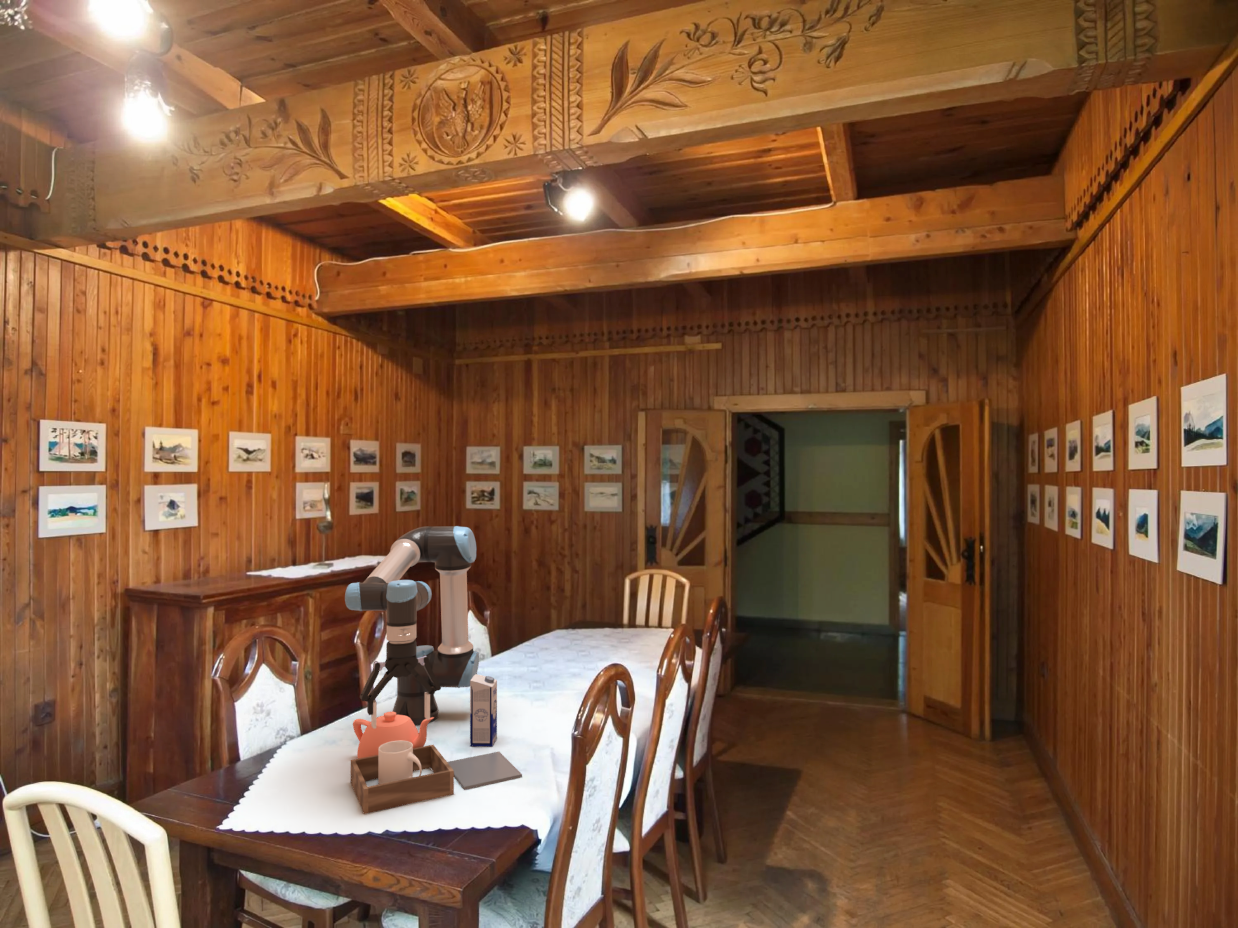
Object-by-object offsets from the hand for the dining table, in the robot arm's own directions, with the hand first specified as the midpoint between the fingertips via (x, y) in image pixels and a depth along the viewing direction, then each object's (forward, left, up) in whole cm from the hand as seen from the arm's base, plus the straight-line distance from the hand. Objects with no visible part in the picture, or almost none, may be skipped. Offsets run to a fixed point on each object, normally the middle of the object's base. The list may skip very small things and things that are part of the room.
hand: (401, 722), depth 187 cm
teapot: (-20, +2, -18) cm, 27 cm away
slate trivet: (0, +22, -17) cm, 28 cm away
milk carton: (-20, +29, -17) cm, 40 cm away
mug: (0, 0, -17) cm, 17 cm away
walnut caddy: (0, 0, -17) cm, 17 cm away
